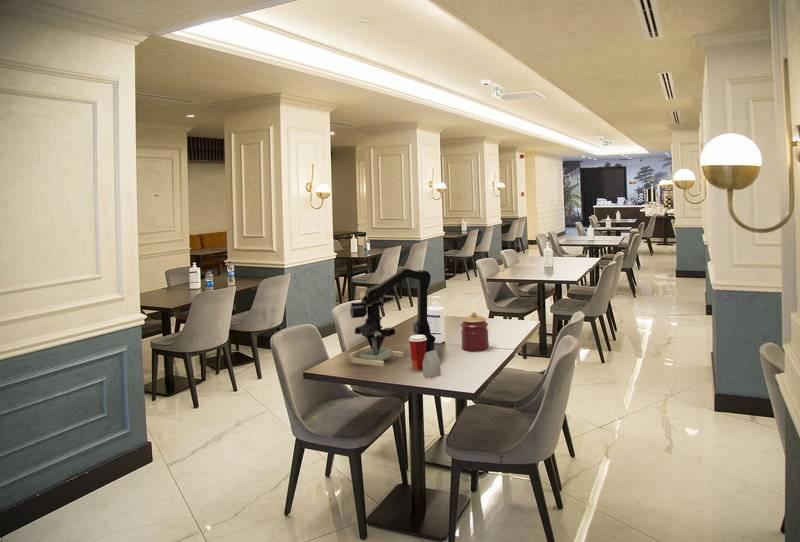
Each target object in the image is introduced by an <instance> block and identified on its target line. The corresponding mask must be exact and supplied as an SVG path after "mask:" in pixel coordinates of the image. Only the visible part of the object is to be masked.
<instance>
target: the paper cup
mask: <svg viewBox="0 0 800 542" xmlns="http://www.w3.org/2000/svg"><path fill="white" fill-rule="evenodd" d="M426 340H427V338H426V336H425V335H415V334H414V335H410V336H409V338H408V341H409V346H410V354H411V356H410V357H411V363H412V369H413V370H414V369H415V371H423V363H422V362H423V359H424V356H425V353H426Z"/></svg>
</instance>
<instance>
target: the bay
mask: <svg viewBox="0 0 800 542" xmlns="http://www.w3.org/2000/svg"><path fill="white" fill-rule="evenodd" d="M369 350H371V346H370V344H369V345H367V346H365V347H362V348H360V349H358V350H355V351H353V352H351V353H350V352H349V353H348V362H349V363H350V364H359V365H367V366H376V367H384V366H385V360H384V361H377V360H368V359H360V354H362V353H364V352H366V351H369ZM404 353H405V352H404V351H397V350H392V357H399V358H403V357H404V355H405V354H404Z"/></svg>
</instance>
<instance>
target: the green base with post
mask: <svg viewBox="0 0 800 542" xmlns="http://www.w3.org/2000/svg"><path fill="white" fill-rule="evenodd" d="M375 336H376V335H374V336H373V337H371V340H372V349H371V350H369V351H366V352H364V353H362V354H360V359H368V360H377V361H384V362H385V360H388V359H390V358H392V357H393V356H392V351H393V349H392V348H384V347H381V348H380V350H378V347H377V338H376V337H375Z"/></svg>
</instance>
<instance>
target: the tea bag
mask: <svg viewBox="0 0 800 542" xmlns="http://www.w3.org/2000/svg"><path fill="white" fill-rule="evenodd" d="M422 363H423V370H422V377H423V376H424V377H423V378H427V377H429V378H428V379H431V378H434V377H436V375H437V376H439V375H441V371H442V370H441V359H440V357H439V354H438V352H437V349H435V350H433V351H430V352H427V353H425V356H424V359H423V362H422ZM433 376H434V377H433Z"/></svg>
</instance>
